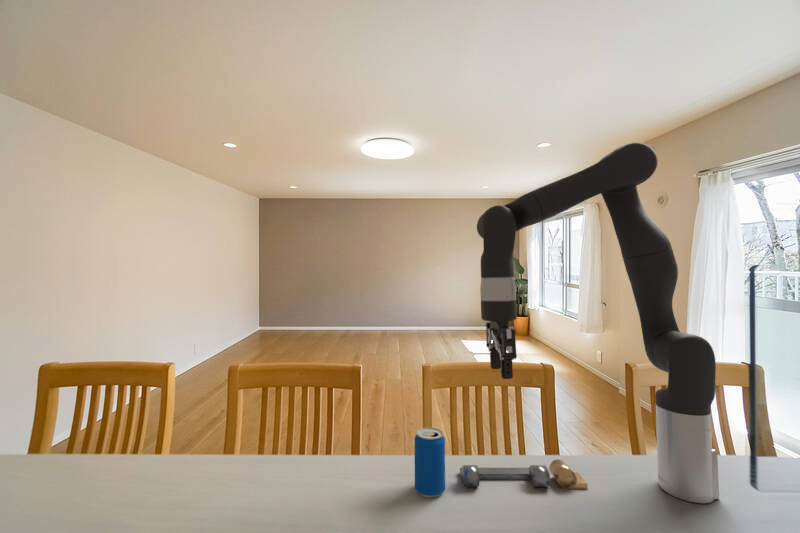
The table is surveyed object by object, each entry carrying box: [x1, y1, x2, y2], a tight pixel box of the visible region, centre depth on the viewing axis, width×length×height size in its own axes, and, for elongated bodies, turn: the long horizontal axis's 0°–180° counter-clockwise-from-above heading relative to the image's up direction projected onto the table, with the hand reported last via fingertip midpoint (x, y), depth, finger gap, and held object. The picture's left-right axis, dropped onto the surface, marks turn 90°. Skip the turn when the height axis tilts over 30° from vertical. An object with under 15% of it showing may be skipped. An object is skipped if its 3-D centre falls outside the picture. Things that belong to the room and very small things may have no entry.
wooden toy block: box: [548, 459, 589, 490], centre depth 78 cm, size 4×6×4 cm
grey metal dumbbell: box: [459, 464, 551, 488], centre depth 78 cm, size 18×7×4 cm, turn 90°
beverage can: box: [414, 427, 446, 499], centre depth 75 cm, size 6×6×12 cm
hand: (501, 373), depth 77 cm, fingers open, 8 cm apart
